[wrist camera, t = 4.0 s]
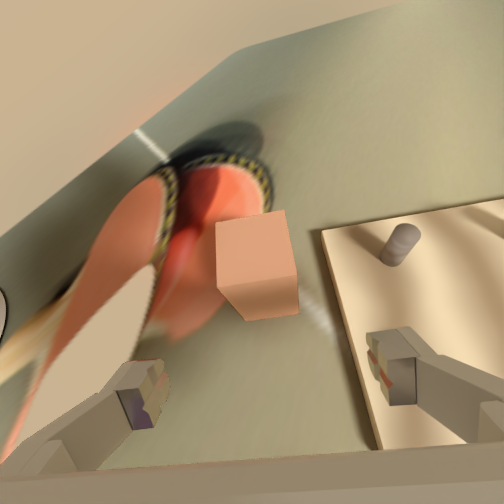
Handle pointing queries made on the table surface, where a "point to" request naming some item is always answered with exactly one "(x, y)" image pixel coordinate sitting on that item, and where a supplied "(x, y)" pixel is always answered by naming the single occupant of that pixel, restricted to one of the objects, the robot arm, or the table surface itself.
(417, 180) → the table surface
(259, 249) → the terracotta block
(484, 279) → the birch peg plate
